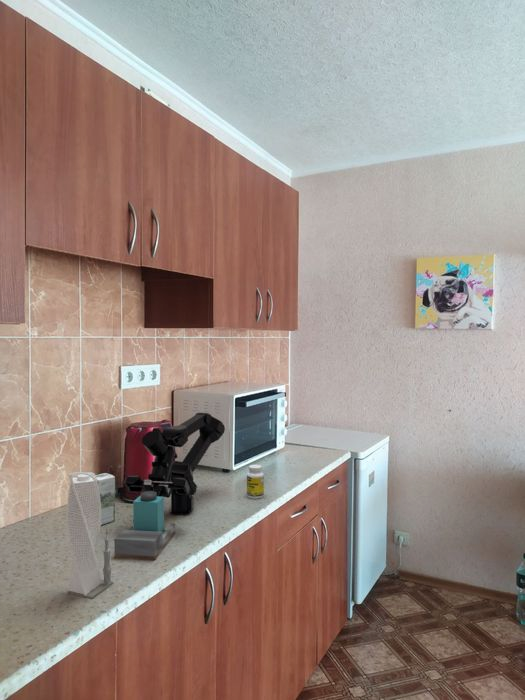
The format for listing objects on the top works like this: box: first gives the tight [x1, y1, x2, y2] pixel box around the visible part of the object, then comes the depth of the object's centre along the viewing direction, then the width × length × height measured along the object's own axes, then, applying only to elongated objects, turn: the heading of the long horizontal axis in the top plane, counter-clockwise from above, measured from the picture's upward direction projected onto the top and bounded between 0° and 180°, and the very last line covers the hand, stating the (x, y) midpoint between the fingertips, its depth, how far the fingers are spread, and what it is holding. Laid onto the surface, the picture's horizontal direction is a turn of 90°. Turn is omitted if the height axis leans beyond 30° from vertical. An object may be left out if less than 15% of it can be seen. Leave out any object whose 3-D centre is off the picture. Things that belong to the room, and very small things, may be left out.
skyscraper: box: [66, 471, 114, 600], centre depth 112 cm, size 8×8×28 cm
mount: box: [113, 523, 176, 561], centre depth 136 cm, size 17×11×5 cm, turn 172°
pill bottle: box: [246, 464, 265, 500], centre depth 176 cm, size 6×6×11 cm
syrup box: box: [95, 472, 116, 526], centre depth 152 cm, size 6×6×14 cm
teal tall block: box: [132, 491, 165, 533], centre depth 137 cm, size 5×7×13 cm
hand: (149, 512), depth 140 cm, fingers closed
